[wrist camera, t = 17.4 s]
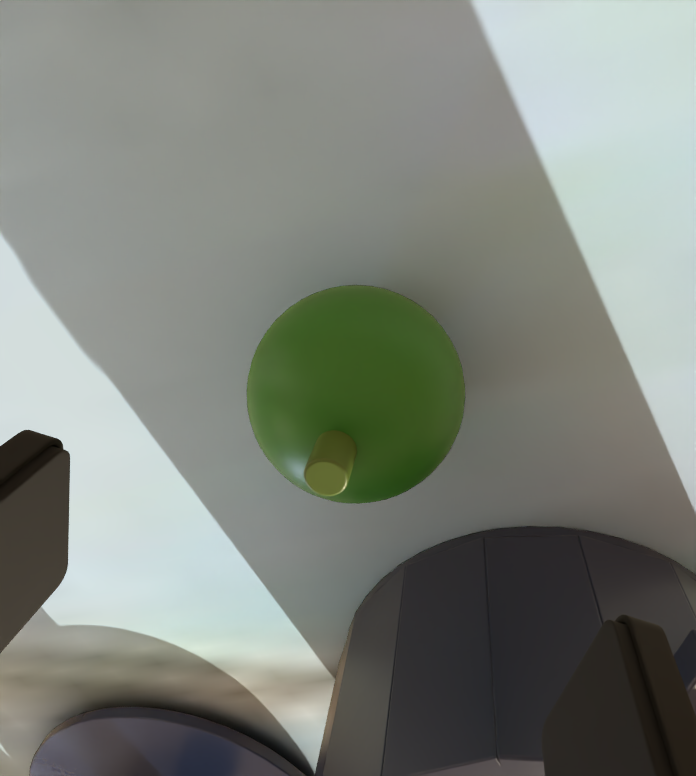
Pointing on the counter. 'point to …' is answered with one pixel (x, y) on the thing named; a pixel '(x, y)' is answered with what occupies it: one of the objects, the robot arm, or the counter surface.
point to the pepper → (355, 394)
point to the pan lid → (152, 747)
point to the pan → (489, 648)
